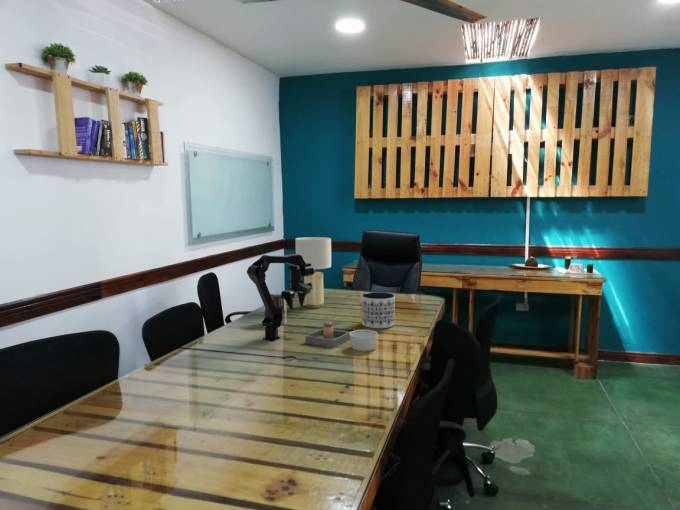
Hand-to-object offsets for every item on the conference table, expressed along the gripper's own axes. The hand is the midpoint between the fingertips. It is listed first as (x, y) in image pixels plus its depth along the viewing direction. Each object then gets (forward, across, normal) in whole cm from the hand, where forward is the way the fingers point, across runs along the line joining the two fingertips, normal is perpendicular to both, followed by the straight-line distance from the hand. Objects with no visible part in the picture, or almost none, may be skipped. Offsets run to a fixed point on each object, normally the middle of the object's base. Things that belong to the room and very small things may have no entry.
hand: (296, 307), depth 245 cm
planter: (+13, +34, -31) cm, 48 cm away
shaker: (+12, -6, -23) cm, 27 cm away
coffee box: (+13, +10, +20) cm, 26 cm away
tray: (+13, -6, -23) cm, 27 cm away
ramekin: (+13, -7, -43) cm, 46 cm away
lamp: (+13, +55, +25) cm, 62 cm away
